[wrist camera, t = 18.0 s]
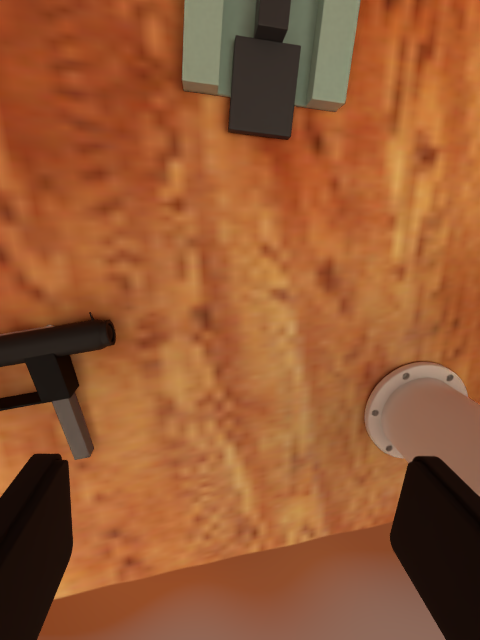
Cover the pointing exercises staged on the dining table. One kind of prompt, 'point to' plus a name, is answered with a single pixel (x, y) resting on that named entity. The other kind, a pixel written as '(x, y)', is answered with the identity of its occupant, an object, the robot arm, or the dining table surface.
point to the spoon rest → (304, 29)
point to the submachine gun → (56, 371)
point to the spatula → (265, 75)
